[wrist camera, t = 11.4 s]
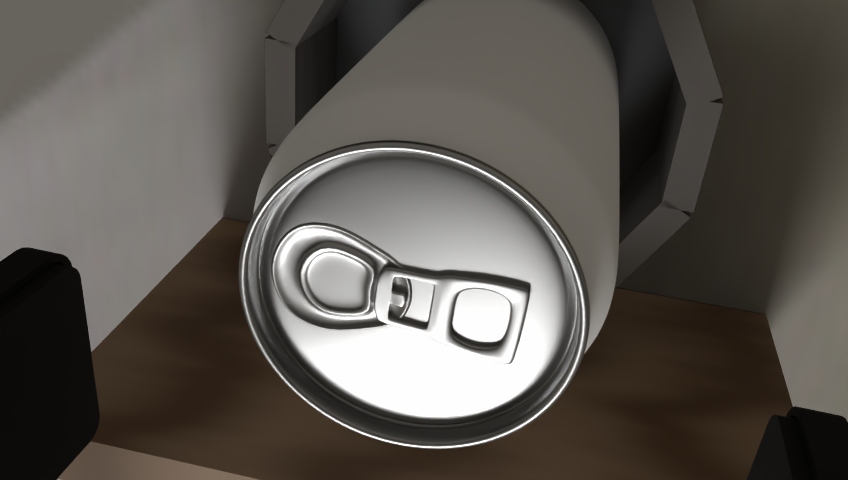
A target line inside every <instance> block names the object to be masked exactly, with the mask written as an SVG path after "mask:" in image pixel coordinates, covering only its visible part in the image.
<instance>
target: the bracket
mask: <svg viewBox="0 0 848 480" xmlns="http://www.w3.org/2000/svg"><path fill="white" fill-rule="evenodd" d="M422 1H424V0H285V1H284V2H283V4H282V6H281V7H280V9H279V11H278V13H277V14H276V16H275V18H274V19H273V21H272V23H271V25H270V26H269V28H268V30H267V33H268V34H269V36H268V37H266V38H265V99H266V143H269V144H272V145H271V146H270V147H269V148H268V150H269V152H270V154H271V156H272V157H273V156H274V154H275V153H276V151H277V149H278V148H279V146H280V145H281V143H282V142H283V141H284V139H285V138H286V137H287V135H288V134H289V133H290V132H291V131H292V130H293V128H294V127H295V126H296V125H297V124H298V123H299V122H300V121H301V120H302V118H303V117H304V116H305V115H306V114H307V113H308V112H309V111H310V110H311V109H312V108H313V107H314V106H315V105H316V104H317V103H318V102H319V101H320V100H321V99H322V98H323V97H324V96H325V95H326V94H327V93H328V92H329V91H330V90H331V89H332V88H333V87H334V86H335V85H336V84H337V83H338V82H339V81H340V80H341V79H342V78H343V77H344V76H345V75H346V74H347V73H348V72H349V71H350V70H351V69H352V68H353V67H354V66H355V65H356V64H357V63H358V62H359V61H360V60H361V59H363V58H364V57H365V56H366V55H367V54H368V53H369V52H370V51H371V50H372V49H373V48H374V47H375V46H376V45H377V44H378V43H379V42H380V41H381V40H382V39H383V38H384V37H385V36H386V35H387V34H388V33H389V32H390V31H391V30H392V29H394V28H395V27H396V26H397V25H398V24H399V23H400V22H401V21H402V20H403V19H404V18H405V17H406V16H407V15H408V14H409V13H410V12H411V11H412V10H414V9H415V8H416V7H417V6H418V5H419V4H420V3H421V2H422ZM579 1H580V2H582V3H583V4H584V5H585V6H586V7H587V9H588V10H589V11H590V12H591V13H592V14H593V16H594V17H595V18H596V20H597V21H598V23H599V24H600V26H601V27H602V29H603V31H604V33H605V34H606V36H607V39H608V41H609V43H610V46H611V49H612V52H613V55H614V59H615V63H616V68H617V76H618V90H619V253H618V268H617V277H616V284H615V288H614V293H613V297H612V301H611V305H610V308H609V311H608V314H607V316H606V319H605V321H604V323H603V325H602V328H601V329H600V331H599V333H598V335H597V337H596V338H595V340H594V341H593V343H592V344H591V346H590V347H589V348H588V350H587V351H586V352H585V354H584V356H583V359H582V362H581V364H580V366H579V369H578V371H577V373H576V375H575V376H574V378H573V380H572V382H571V383H570V385H569V386H568V388H567V389H566V391H565V392H564V393H563V395H562V396H561V397H560V398H559V399H558V400H557V401H556V403H555V404H554V405H553V406H552V407H551V408H550V409H548V410H547V411H546V412H545V413H544V414H543V415H541V416H540V417H539V418H537V419H536V420H535V421H533V422H532V423H530V424H529V425H527V426H525V427H524V428H522V429H520V430H518V431H516V432H514V433H512V434H510V435H508V436H505V437H503V438H500V439H497V440H494V441H491V442H487V443H484V444H480V445H475V446H470V447H463V448H453V449H423V448H413V447H406V446H400V445H395V444H391V443H387V442H383V441H380V440H376V439H373V438H370V437H367V436H365V435H362V434H360V433H357V432H355V431H352V430H350V429H348V428H346V427H344V426H342V425H340V424H338V423H336V422H335V421H333V420H331V419H329V418H328V417H326V416H325V415H323V414H321V413H320V412H318V411H317V410H316V409H314V408H313V407H311V406H310V405H309V404H308V403H306V402H305V401H304V400H303V399H301V398H300V397H299V396H298V395H297V394H296V393H295V392H294V391H292V390H291V389H290V388H289V387H288V386H287V385H286V384H285V382H284V381H283V380H282V379H281V378H280V377H279V376H278V374H277V373H276V372H275V371H274V370H273V368H272V367H271V366H270V364H269V363H268V361H267V360H266V359H265V357H264V355H263V354H262V352H261V351H260V349H259V347H258V345H257V343H256V342H255V340H254V337H253V335H252V333H251V331H250V328H249V326H248V323H247V321H246V317H245V314H244V311H243V307H242V302H241V297H240V290H239V258H240V251H241V246H242V242H243V239H244V235H245V232H246V229H247V227H248V224H249V223H248V222H243V221H237V220H231V219H226V218H222V219H221V220H220V221H219V222H218V223H217V224H216V225H215V226H214V227H213V228H212V229H211V230H210V231H209V232H208V233H207V234H206V235H205V236H204V237H203V238H202V239H201V240H200V241H199V242H198V243H197V244H196V245H195V246H194V248H193V249H192V250H191V251H190V252H189V253H188V254H187V255H186V256H185V257H184V258H183V259H182V260H181V261H180V262H179V263H178V264H177V265H176V266H175V267H174V268H173V269H172V270H171V271H170V272H169V273H168V274H167V275H166V276H165V277H164V278H163V279H162V280H161V281H160V282H159V284H158V285H157V286H156V287H155V288H154V289H153V290H152V291H151V292H150V293H149V294H148V295H147V296H146V297H145V298H144V299H143V300H142V301H141V302H140V303H139V304H138V305H137V306H136V307H135V308H134V309H133V310H132V311H131V312H130V313H129V314H128V315H127V316H126V317H125V319H124V320H123V321H122V322H121V323H120V324H119V325H118V326H117V327H116V328H115V329H114V330H113V331H112V332H111V333H110V334H109V335H108V336H107V337H106V338H105V339H104V340H103V341H102V342H101V343H100V344H99V345H98V346H97V347H96V348H95V349H94V350H93V351H92V352H91V355H92V362H93V369H94V376H95V383H96V390H97V398H98V405H99V412H100V420H99V426H98V429H97V431H96V433H95V435H94V437H93V439H92V440H91V441H90V443H89V444H88V445H87V446H86V447H85V448H84V449H83V450H82V452H81V453H80V454H79V455H78V456H77V457H76V458H75V459H74V461H73V462H72V463H71V464H70V465H69V466H68V467H67V468H66V470H65V471H64V472H63V473H62V474H61V475H60V476H59V477H58V478H59V479H63V480H747V477H748V475H749V472H750V469H751V467H752V464H753V461H754V459H755V456H756V453H757V451H758V448H759V445H760V443H761V440H762V437H763V434H764V432H765V429H766V426H767V424H768V422H769V420H770V418H771V417H772V415H780V416H785V417H786V415H787V413H788V411H789V410H790V409H791V408H792V407H793V406H792V403H791V399H790V396H789V392H788V389H787V386H786V382H785V379H784V375H783V372H782V368H781V365H780V362H779V358H778V355H777V351H776V348H775V345H774V341H773V338H772V334H771V331H770V328H769V324H768V321H767V317H766V315H765V314H759V313H754V312H748V311H742V310H737V309H731V308H726V307H720V306H714V305H709V304H703V303H698V302H692V301H686V300H681V299H675V298H669V297H664V296H658V295H653V294H647V293H641V292H636V291H630V290H625V289H619V288H617V287H618V286H619V285H620V284H621V283H622V282H623V281H624V280H625V279H626V278H628V277H629V276H630V275H631V274H632V273H633V272H634V271H635V270H636V269H637V268H638V267H639V266H640V265H641V264H642V263H643V262H644V261H645V260H647V259H648V258H649V257H650V256H651V255H652V254H653V253H654V252H655V251H656V250H657V249H658V248H659V247H660V246H661V245H662V244H663V243H664V242H666V241H667V240H668V239H669V238H670V237H671V236H672V235H673V234H674V233H675V232H676V231H677V230H678V229H679V228H680V227H681V226H682V225H684V224H685V223H686V222H687V221H688V220H689V219H690V213H689V212H694V210H695V206H696V202H697V199H698V195H699V192H700V188H701V184H702V181H703V177H704V173H705V170H706V166H707V162H708V159H709V155H710V151H711V148H712V144H713V141H714V137H715V133H716V130H717V126H718V122H719V119H720V115H721V111H722V108H723V101H722V97H723V94H722V91H721V87H720V84H719V81H718V78H717V75H716V72H715V69H714V66H713V62H712V59H711V56H710V53H709V50H708V47H707V44H706V40H705V37H704V34H703V31H702V28H701V25H700V22H699V18H698V15H697V12H696V9H695V6H694V3H693V0H579Z"/></svg>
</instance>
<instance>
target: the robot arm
mask: <svg viewBox="0 0 848 480" xmlns="http://www.w3.org/2000/svg"><path fill="white" fill-rule="evenodd" d="M99 420H100V412H99V405H98V398H97V390H96V383H95V376H94V369H93V362H92V355H91V348H90V341H89V333H88V326H87V319H86V312H85V305H84V298H83V291H82V284H81V277H80V274H79V272H78V270H77V269H75V268H73V267H72V265H71V262H70V260H69V259H68V258H67V257H66V256H64V255H62V254H57V253H53V252H48V251H43V250H38V249H33V248H21V249H19V250H16V251H15V252H13V253H12V254H10V255H9V256H8V257H6V258H5V259H3V260H2V261H0V480H57V479H58V477H59V476H60V475H61V474H62V473H63V472H64V471H65V470H66V468H67V467H68V466H69V465H70V464H71V463H72V462H73V461H74V459H75V458H76V457H77V456H78V455H79V454H80V453H81V452H82V450H83V449H84V448H85V447H86V446H87V445H88V444H89V443H90V441H91V440H92V439H93V437H94V435H95V433H96V431H97V429H98V426H99ZM747 480H848V422H847V420H846V418H844V417H842V416H839V415H834V414H829V413H825V412H820V411H815V410H810V409H805V408H800V407H796V406H795V407H792V408H791V409H790V410H789V411H788V413H787V415H786V417H785V416H780V415H772V417H771V418H770V420H769V422H768V424H767V426H766V429H765V432H764V434H763V437H762V440H761V443H760V445H759V448H758V451H757V453H756V456H755V459H754V461H753V464H752V467H751V469H750V472H749V475H748V477H747Z"/></svg>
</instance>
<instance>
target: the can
mask: <svg viewBox="0 0 848 480" xmlns="http://www.w3.org/2000/svg"><path fill="white" fill-rule="evenodd" d="M618 253H619V90H618V76H617V68H616V63H615V59H614V55H613V52H612V49H611V46H610V43H609V41H608V39H607V36H606V34H605V33H604V31H603V29H602V27H601V26H600V24H599V23H598V21H597V20H596V18H595V17H594V16H593V14H592V13H591V12H590V11H589V10H588V9H587V7H586V6H585V5H584V4H583V3H582V2H580V1H579V0H424V1H422V2H421V3H420V4H419V5H418V6H417V7H416V8H415V9H414V10H412V11H411V12H410V13H409V14H408V15H407V16H406V17H405V18H404V19H403V20H402V21H401V22H400V23H399V24H398V25H397V26H396V27H395V28H394V29H392V30H391V31H390V32H389V33H388V34H387V35H386V36H385V37H384V38H383V39H382V40H381V41H380V42H379V43H378V44H377V45H376V46H375V47H374V48H373V49H372V50H371V51H370V52H369V53H368V54H367V55H366V56H365V57H364V58H363V59H361V60H360V61H359V62H358V63H357V64H356V65H355V66H354V67H353V68H352V69H351V70H350V71H349V72H348V73H347V74H346V75H345V76H344V77H343V78H342V79H341V80H340V81H339V82H338V83H337V84H336V85H335V86H334V87H333V88H332V89H331V90H330V91H329V92H328V93H327V94H326V95H325V96H324V97H323V98H322V99H321V100H320V101H319V102H318V103H317V104H316V105H315V106H314V107H313V108H312V109H311V110H310V111H309V112H308V113H307V114H306V115H305V116H304V117H303V118H302V120H301V121H300V122H299V123H298V124H297V125H296V126H295V127H294V128H293V130H292V131H291V132H290V133H289V134H288V135H287V137H286V138H285V139H284V141H283V142H282V143H281V145H280V146H279V148H278V149H277V151H276V153H275V154H274V156H273V157H272V159H271V161H270V163H269V164H268V166H267V168H266V170H265V173H264V175H263V177H262V180H261V183H260V186H259V189H258V192H257V196H256V201H255V206H254V213H253V216H252V218H251V220H250V222H249V224H248V227H247V229H246V232H245V235H244V239H243V242H242V246H241V251H240V258H239V290H240V297H241V302H242V307H243V311H244V314H245V317H246V321H247V323H248V326H249V328H250V331H251V333H252V335H253V337H254V340H255V342H256V343H257V345H258V347H259V349H260V351H261V352H262V354H263V355H264V357H265V359H266V360H267V361H268V363H269V364H270V366H271V367H272V368H273V370H274V371H275V372H276V373H277V374H278V376H279V377H280V378H281V379H282V380H283V381H284V382H285V384H286V385H287V386H288V387H289V388H290V389H291V390H292V391H294V392H295V393H296V394H297V395H298V396H299V397H300V398H301V399H303V400H304V401H305V402H306V403H308V404H309V405H310V406H311V407H313V408H314V409H316V410H317V411H318V412H320V413H321V414H323V415H325V416H326V417H328V418H329V419H331V420H333V421H335V422H336V423H338V424H340V425H342V426H344V427H346V428H348V429H350V430H352V431H355V432H357V433H360V434H362V435H365V436H367V437H370V438H373V439H376V440H380V441H383V442H387V443H391V444H395V445H400V446H406V447H413V448H423V449H453V448H463V447H470V446H475V445H480V444H484V443H487V442H491V441H494V440H497V439H500V438H503V437H505V436H508V435H510V434H512V433H514V432H516V431H518V430H520V429H522V428H524V427H525V426H527V425H529V424H530V423H532V422H533V421H535V420H536V419H537V418H539V417H540V416H541V415H543V414H544V413H545V412H546V411H547V410H548V409H550V408H551V407H552V406H553V405H554V404H555V403H556V401H557V400H558V399H559V398H560V397H561V396H562V395H563V393H564V392H565V391H566V389H567V388H568V386H569V385H570V383H571V382H572V380H573V378H574V376H575V375H576V373H577V371H578V369H579V366H580V364H581V362H582V359H583V356H584V354H585V352H586V351H587V350H588V348H589V347H590V346H591V344H592V343H593V341H594V340H595V338H596V337H597V335H598V333H599V331H600V329H601V328H602V325H603V323H604V321H605V319H606V316H607V314H608V311H609V308H610V305H611V301H612V297H613V293H614V288H615V284H616V277H617V268H618Z"/></svg>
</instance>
